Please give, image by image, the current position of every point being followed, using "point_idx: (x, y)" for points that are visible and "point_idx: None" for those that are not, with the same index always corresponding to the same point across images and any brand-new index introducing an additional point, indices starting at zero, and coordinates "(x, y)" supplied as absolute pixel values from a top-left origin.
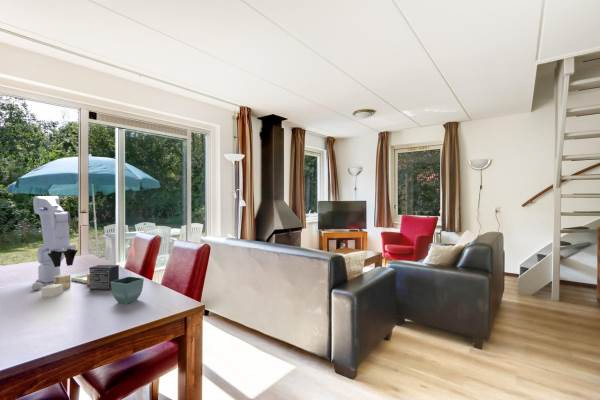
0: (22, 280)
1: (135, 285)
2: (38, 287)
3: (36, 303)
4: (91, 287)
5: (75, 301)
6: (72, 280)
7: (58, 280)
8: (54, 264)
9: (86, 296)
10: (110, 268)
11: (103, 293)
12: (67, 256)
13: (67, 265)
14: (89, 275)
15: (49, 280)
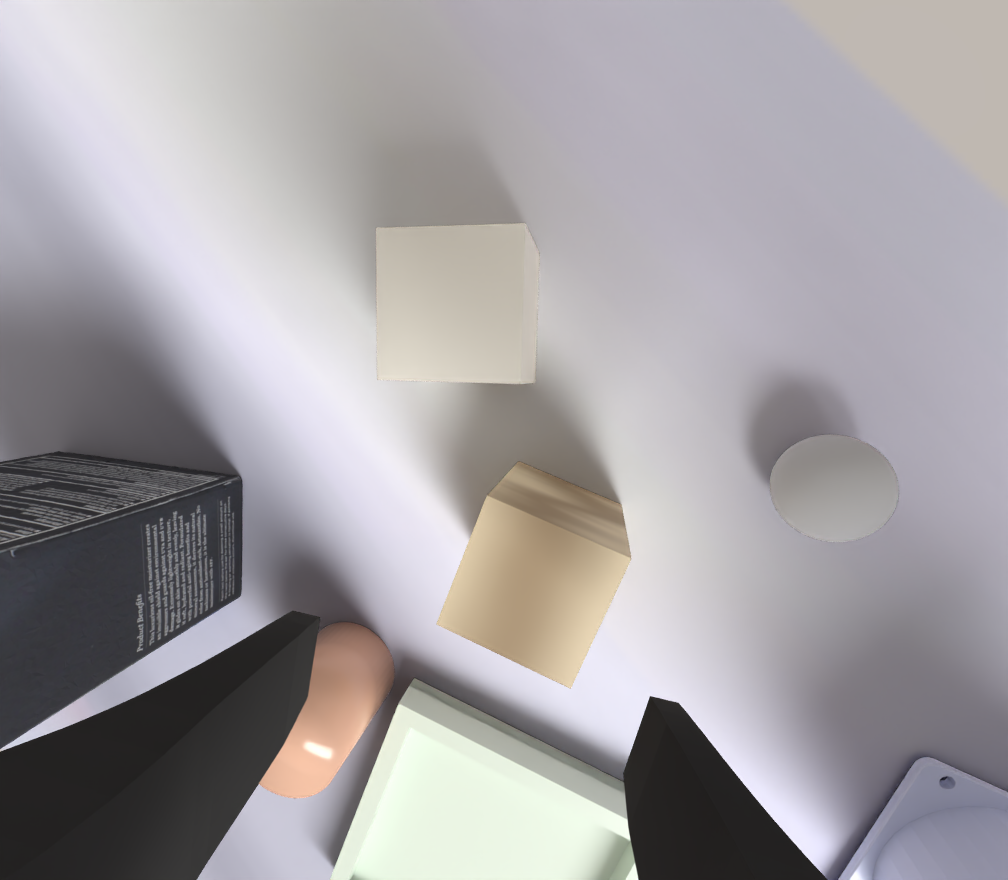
0: None
1: None
2: (779, 457)
3: (421, 47)
4: (205, 478)
5: (120, 147)
6: None
7: (522, 495)
8: (685, 737)
9: (130, 285)
10: None
11: (55, 370)
12: (35, 739)
13: (300, 614)
14: None
15: (939, 814)
